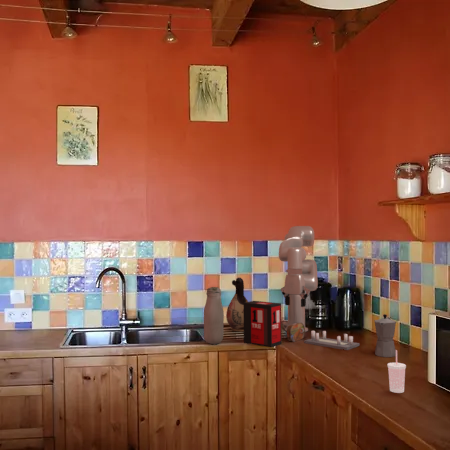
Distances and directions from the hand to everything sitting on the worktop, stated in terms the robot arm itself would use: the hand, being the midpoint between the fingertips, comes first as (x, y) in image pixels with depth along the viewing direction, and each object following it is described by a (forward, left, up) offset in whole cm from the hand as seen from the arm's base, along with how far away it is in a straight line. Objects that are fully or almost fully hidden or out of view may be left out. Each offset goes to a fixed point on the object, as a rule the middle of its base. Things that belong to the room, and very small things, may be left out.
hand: (295, 305), depth 261 cm
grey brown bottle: (-26, -33, -18) cm, 45 cm away
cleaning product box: (-8, -17, -18) cm, 26 cm away
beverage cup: (+74, -46, -18) cm, 89 cm away
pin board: (+19, +3, -17) cm, 26 cm away
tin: (0, 0, -18) cm, 18 cm away
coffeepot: (+48, +1, -18) cm, 51 cm away
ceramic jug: (-38, +1, -18) cm, 42 cm away
